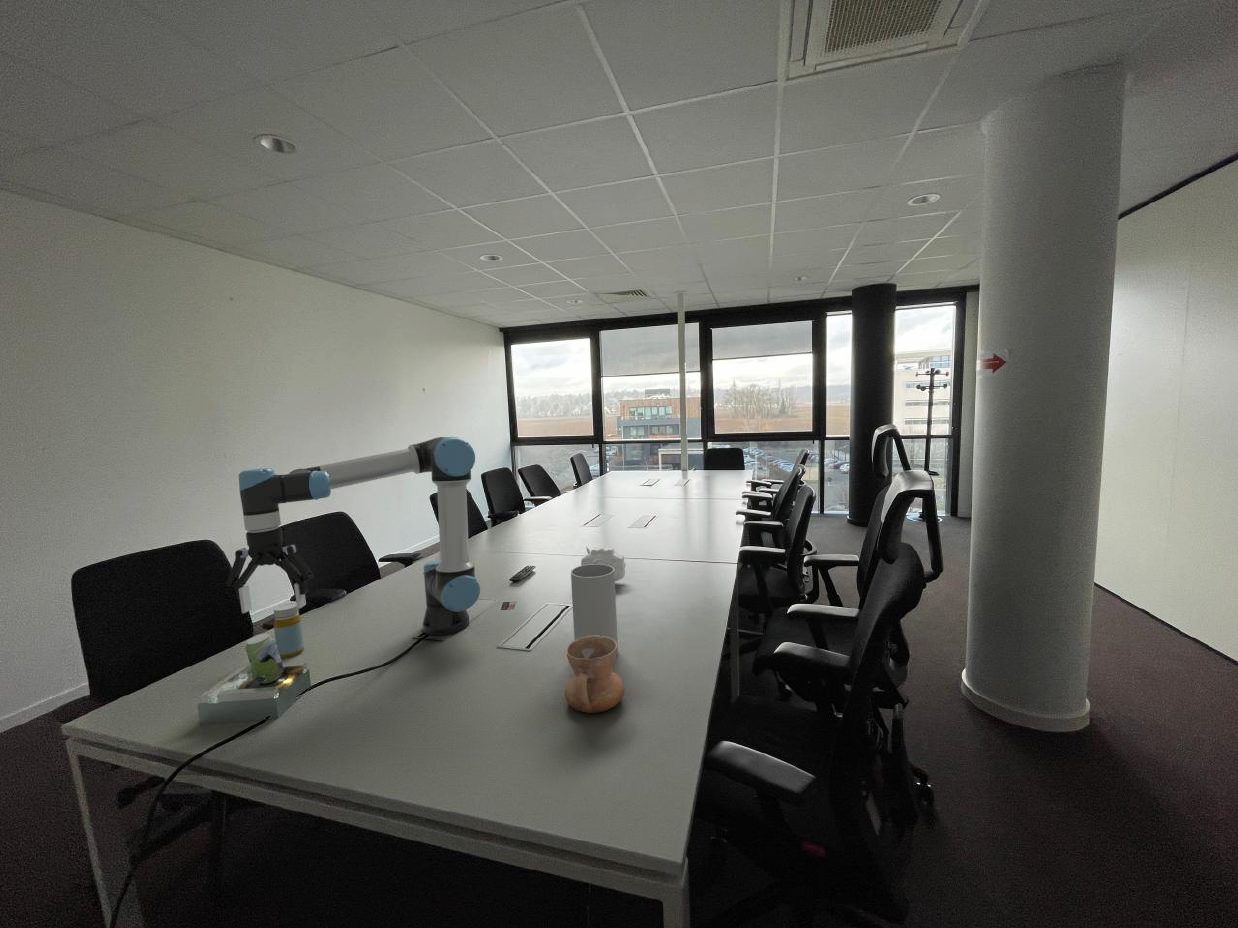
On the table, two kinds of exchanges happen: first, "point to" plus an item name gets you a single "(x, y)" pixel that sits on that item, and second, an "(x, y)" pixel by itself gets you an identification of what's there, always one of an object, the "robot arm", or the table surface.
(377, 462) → the robot arm
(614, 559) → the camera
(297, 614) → the bottle
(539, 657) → the table surface
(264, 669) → the beverage can
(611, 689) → the ceramic jug
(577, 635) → the cylinder vase
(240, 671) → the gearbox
